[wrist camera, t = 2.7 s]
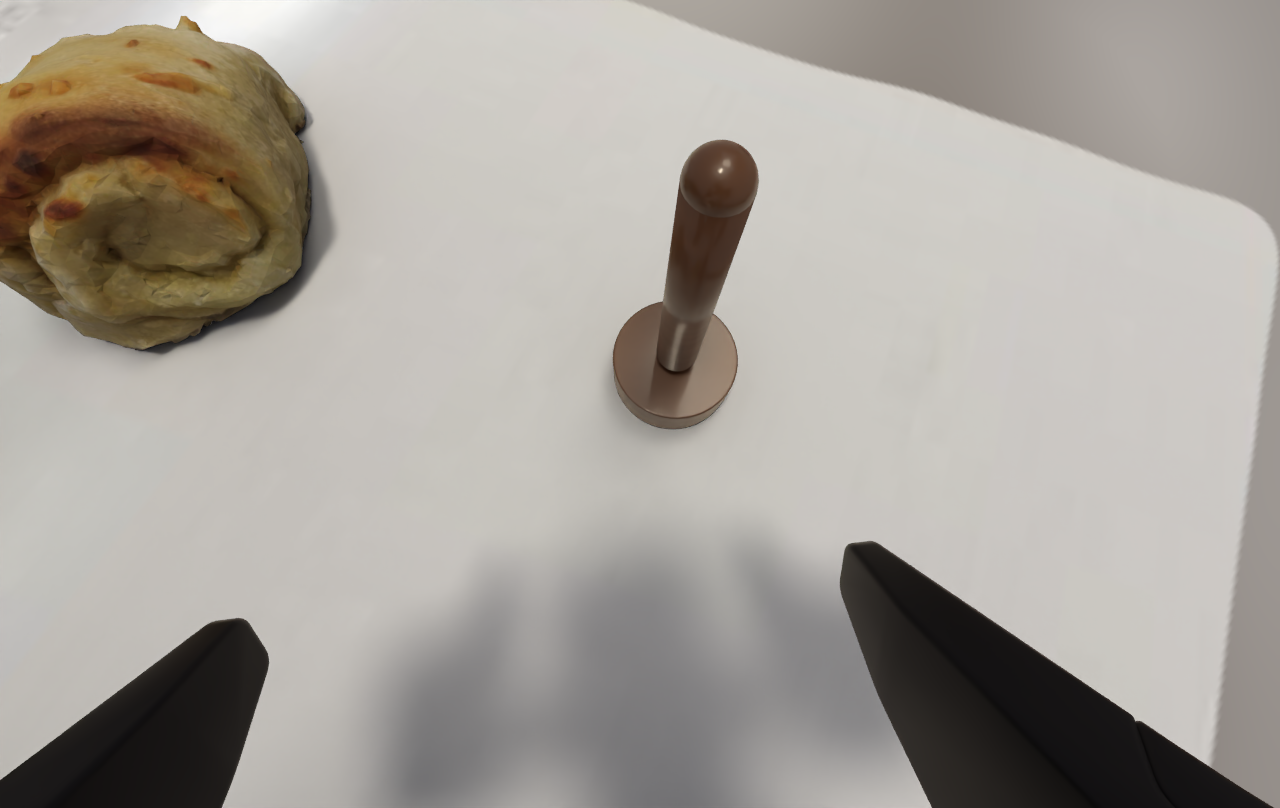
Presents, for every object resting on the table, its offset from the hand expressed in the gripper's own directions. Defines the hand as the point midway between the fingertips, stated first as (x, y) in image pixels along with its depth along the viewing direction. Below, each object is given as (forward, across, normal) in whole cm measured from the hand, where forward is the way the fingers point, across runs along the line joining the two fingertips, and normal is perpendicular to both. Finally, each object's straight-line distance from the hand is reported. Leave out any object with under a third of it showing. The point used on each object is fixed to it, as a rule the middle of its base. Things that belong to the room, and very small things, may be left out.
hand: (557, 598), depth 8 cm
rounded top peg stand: (+15, -4, +4) cm, 16 cm away
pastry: (+22, +17, -3) cm, 28 cm away
